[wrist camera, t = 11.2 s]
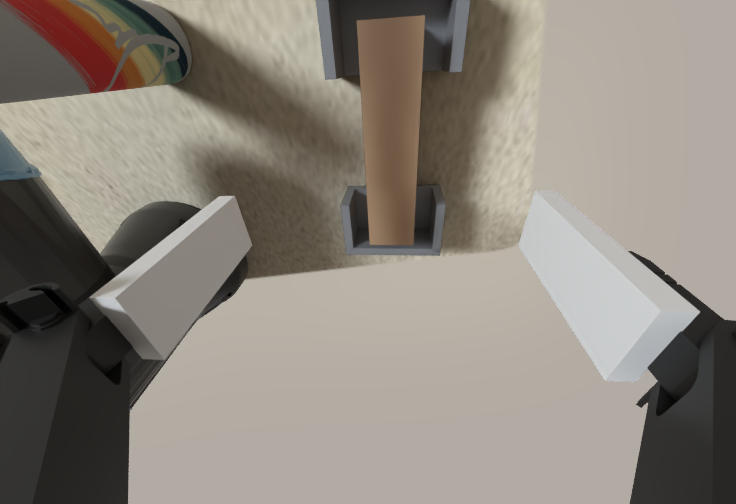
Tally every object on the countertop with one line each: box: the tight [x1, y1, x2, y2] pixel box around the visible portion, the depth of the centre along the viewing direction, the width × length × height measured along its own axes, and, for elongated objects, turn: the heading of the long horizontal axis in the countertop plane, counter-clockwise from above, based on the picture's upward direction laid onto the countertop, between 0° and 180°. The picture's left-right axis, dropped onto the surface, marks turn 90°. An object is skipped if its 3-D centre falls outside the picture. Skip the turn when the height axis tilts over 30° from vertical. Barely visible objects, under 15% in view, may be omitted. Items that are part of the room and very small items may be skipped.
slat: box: [357, 15, 425, 245], centre depth 23 cm, size 4×16×6 cm, turn 3°
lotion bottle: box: [0, 0, 192, 104], centre depth 16 cm, size 6×6×20 cm
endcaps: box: [316, 0, 470, 256], centre depth 24 cm, size 10×21×5 cm, turn 3°
